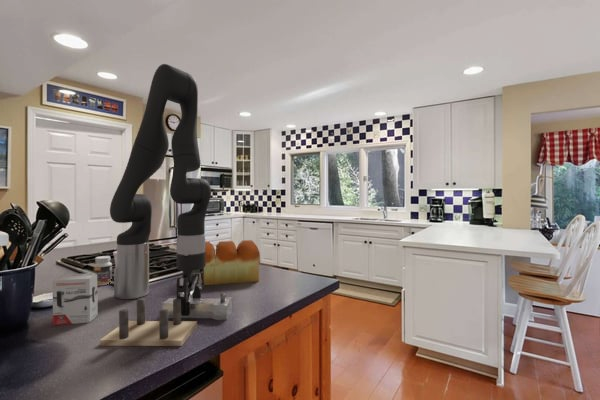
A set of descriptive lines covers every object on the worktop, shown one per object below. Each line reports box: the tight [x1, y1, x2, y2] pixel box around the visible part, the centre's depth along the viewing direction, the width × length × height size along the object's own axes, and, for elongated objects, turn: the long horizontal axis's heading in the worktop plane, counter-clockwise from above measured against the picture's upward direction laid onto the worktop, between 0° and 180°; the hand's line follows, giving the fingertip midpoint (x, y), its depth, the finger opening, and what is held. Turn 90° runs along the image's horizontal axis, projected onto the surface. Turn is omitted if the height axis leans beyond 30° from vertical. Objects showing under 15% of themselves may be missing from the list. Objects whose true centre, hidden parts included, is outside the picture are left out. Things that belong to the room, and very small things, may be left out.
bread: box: [204, 239, 261, 286], centre depth 118 cm, size 25×12×15 cm, turn 105°
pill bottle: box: [93, 255, 113, 287], centre depth 111 cm, size 6×6×10 cm
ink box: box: [51, 272, 99, 326], centre depth 79 cm, size 8×5×12 cm, turn 103°
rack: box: [99, 297, 198, 347], centre depth 71 cm, size 18×10×7 cm, turn 90°
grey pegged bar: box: [162, 292, 233, 321], centre depth 83 cm, size 18×6×6 cm, turn 90°
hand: (191, 309), depth 83 cm, fingers open, 8 cm apart
